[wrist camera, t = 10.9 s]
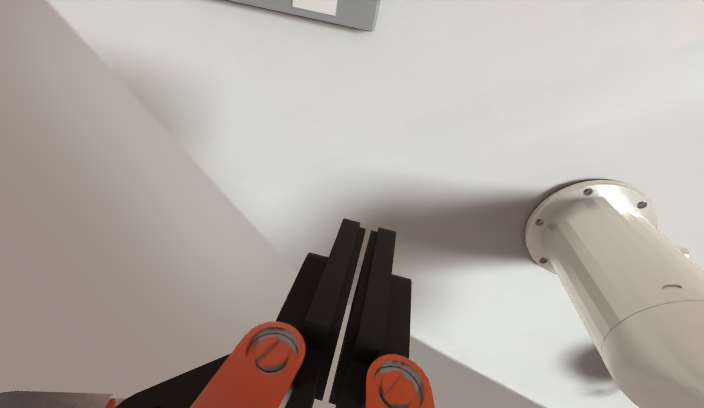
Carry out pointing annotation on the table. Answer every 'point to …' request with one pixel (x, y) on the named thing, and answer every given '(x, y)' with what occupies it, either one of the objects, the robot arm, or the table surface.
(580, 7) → the table surface
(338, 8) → the switch panel
